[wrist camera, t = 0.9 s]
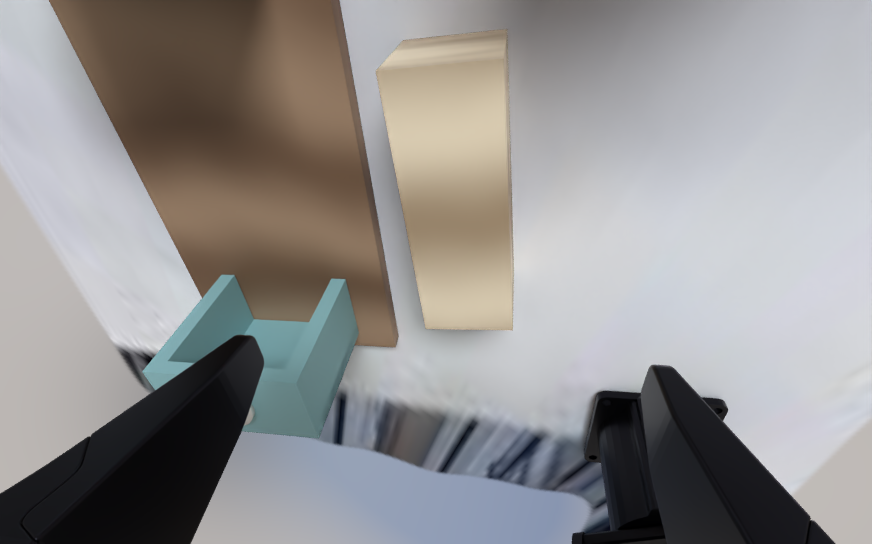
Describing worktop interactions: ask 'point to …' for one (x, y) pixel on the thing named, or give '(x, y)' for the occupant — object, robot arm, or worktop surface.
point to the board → (245, 144)
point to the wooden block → (454, 173)
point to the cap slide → (271, 355)
